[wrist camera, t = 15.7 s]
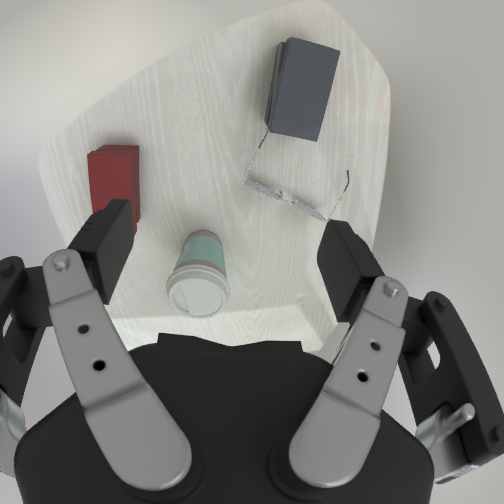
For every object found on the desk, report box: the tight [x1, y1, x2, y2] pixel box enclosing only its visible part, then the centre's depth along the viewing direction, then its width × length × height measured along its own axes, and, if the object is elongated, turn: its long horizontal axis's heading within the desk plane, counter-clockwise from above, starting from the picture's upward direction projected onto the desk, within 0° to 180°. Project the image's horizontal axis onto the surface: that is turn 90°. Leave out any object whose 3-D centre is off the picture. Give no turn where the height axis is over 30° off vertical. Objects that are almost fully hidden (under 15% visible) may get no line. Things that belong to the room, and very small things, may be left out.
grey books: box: [265, 37, 340, 142], centre depth 29 cm, size 12×6×7 cm, turn 171°
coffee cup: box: [167, 231, 230, 319], centre depth 41 cm, size 8×8×12 cm
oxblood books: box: [96, 145, 140, 223], centre depth 37 cm, size 12×6×3 cm, turn 171°
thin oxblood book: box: [87, 151, 137, 236], centre depth 35 cm, size 12×6×2 cm, turn 171°
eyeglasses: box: [242, 129, 349, 222], centre depth 38 cm, size 14×8×4 cm, turn 63°
